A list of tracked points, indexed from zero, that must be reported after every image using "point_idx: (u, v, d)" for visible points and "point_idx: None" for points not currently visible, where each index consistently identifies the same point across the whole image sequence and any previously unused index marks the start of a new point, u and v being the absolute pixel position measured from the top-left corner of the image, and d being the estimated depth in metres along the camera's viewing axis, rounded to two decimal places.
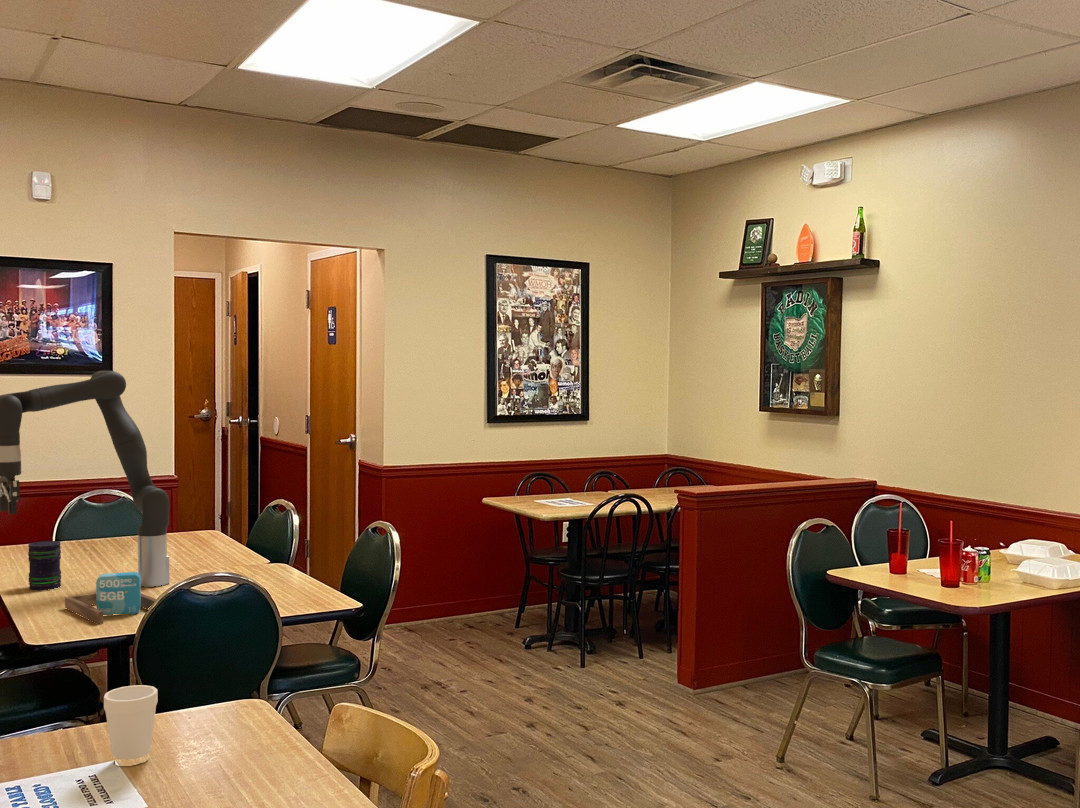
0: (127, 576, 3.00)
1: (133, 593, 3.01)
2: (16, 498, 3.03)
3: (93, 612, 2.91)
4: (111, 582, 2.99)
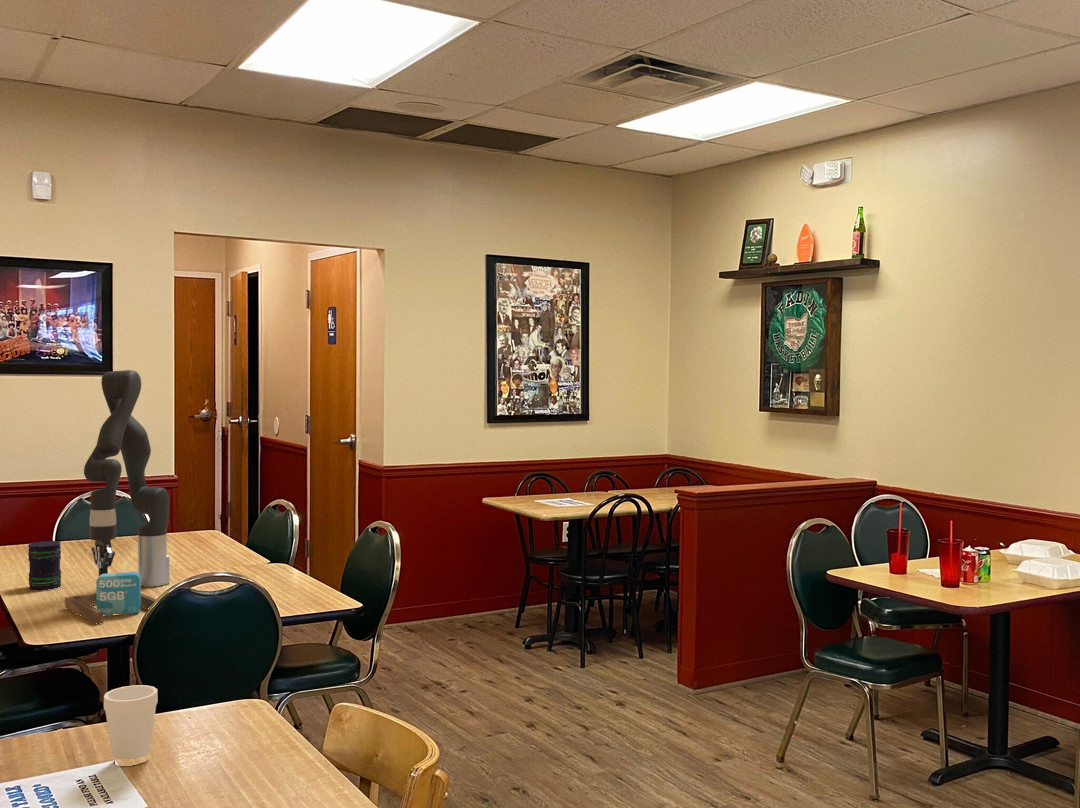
0: (127, 576, 3.00)
1: (133, 593, 3.01)
2: (107, 564, 3.07)
3: (93, 612, 2.91)
4: (111, 582, 2.99)
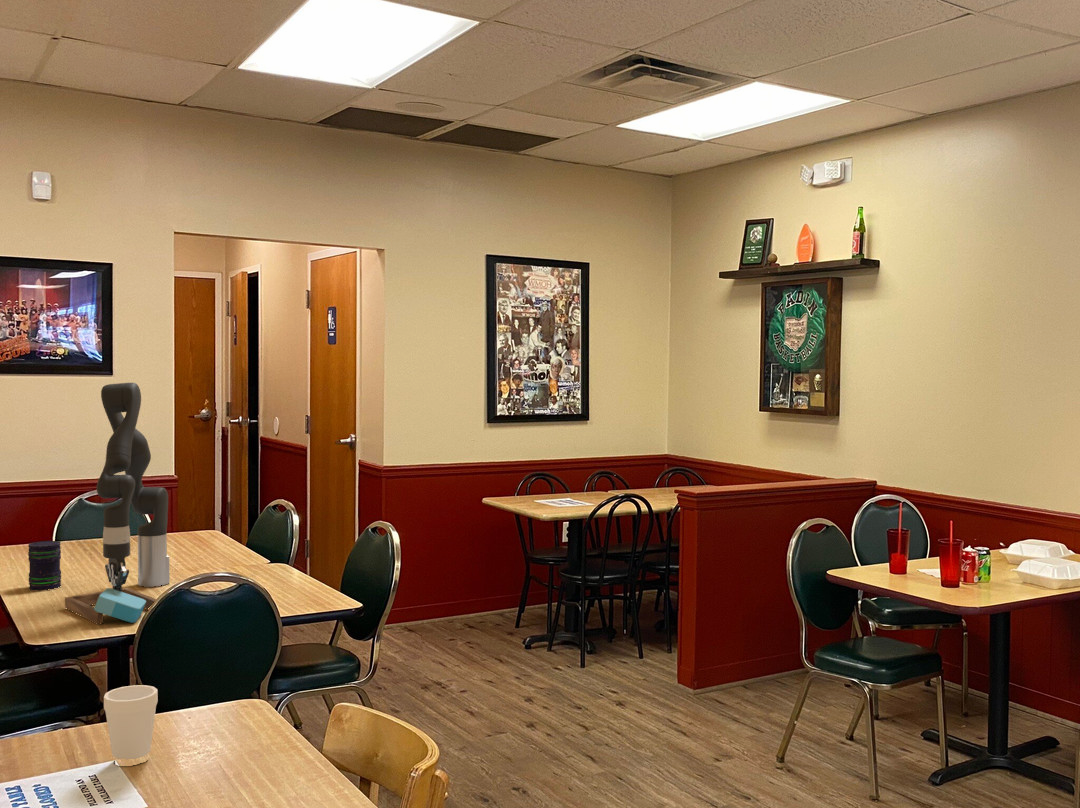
0: (122, 619, 2.90)
1: None
2: (122, 583, 3.00)
3: (93, 612, 2.91)
4: None
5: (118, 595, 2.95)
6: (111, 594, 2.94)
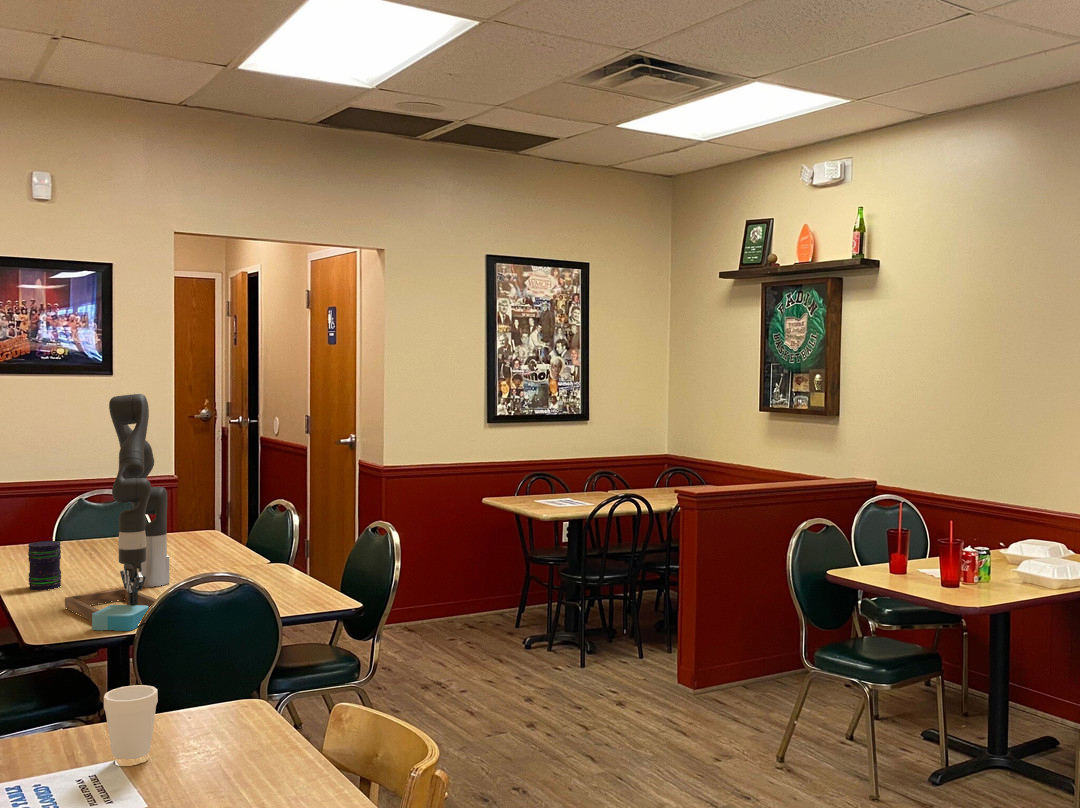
0: (120, 630, 2.83)
1: None
2: (138, 589, 2.92)
3: (93, 612, 2.91)
4: None
5: (116, 608, 2.89)
6: (108, 609, 2.88)
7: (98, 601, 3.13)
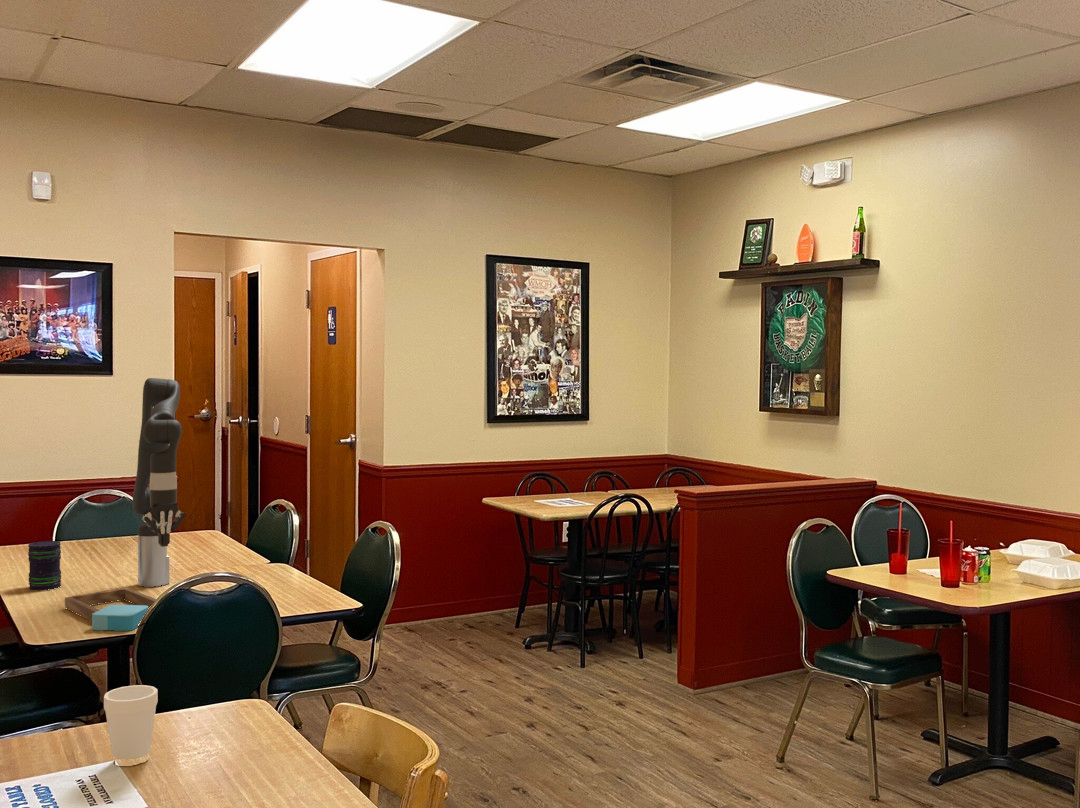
0: (120, 630, 2.83)
1: None
2: (153, 530, 2.93)
3: (93, 612, 2.91)
4: None
5: (116, 608, 2.89)
6: (108, 609, 2.88)
7: (98, 601, 3.13)
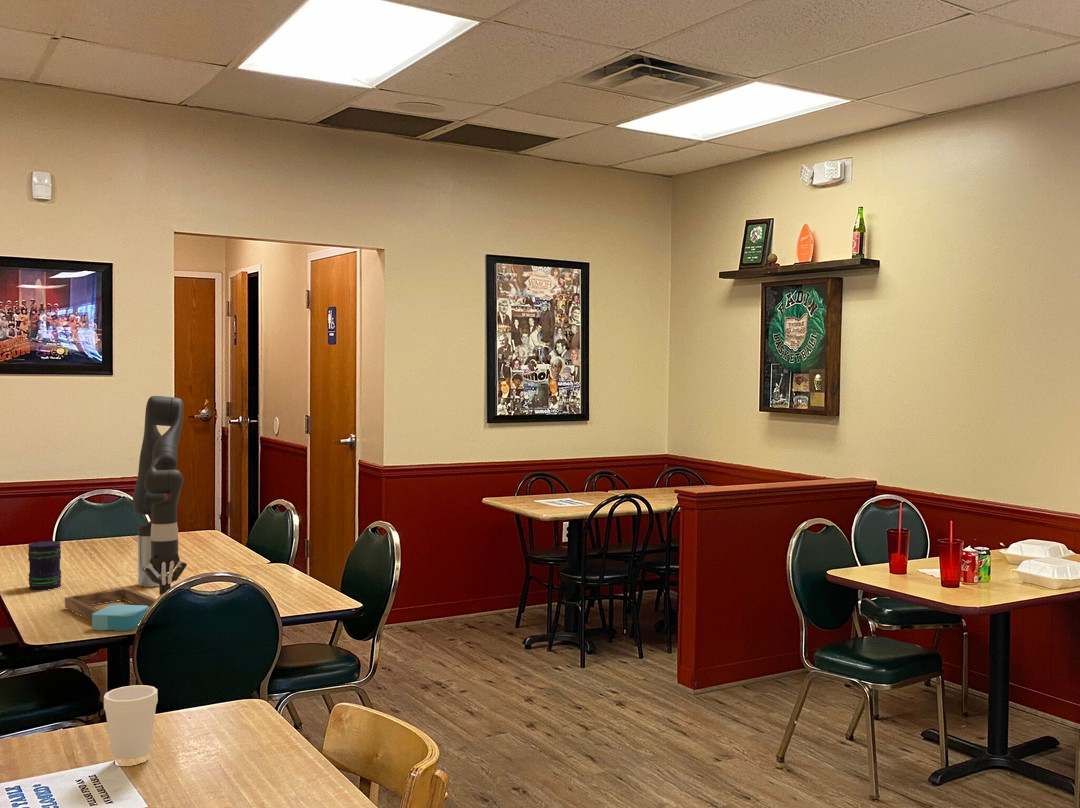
0: (120, 630, 2.83)
1: None
2: (154, 581, 2.91)
3: (93, 612, 2.91)
4: None
5: (116, 608, 2.89)
6: (108, 609, 2.88)
7: (98, 601, 3.13)
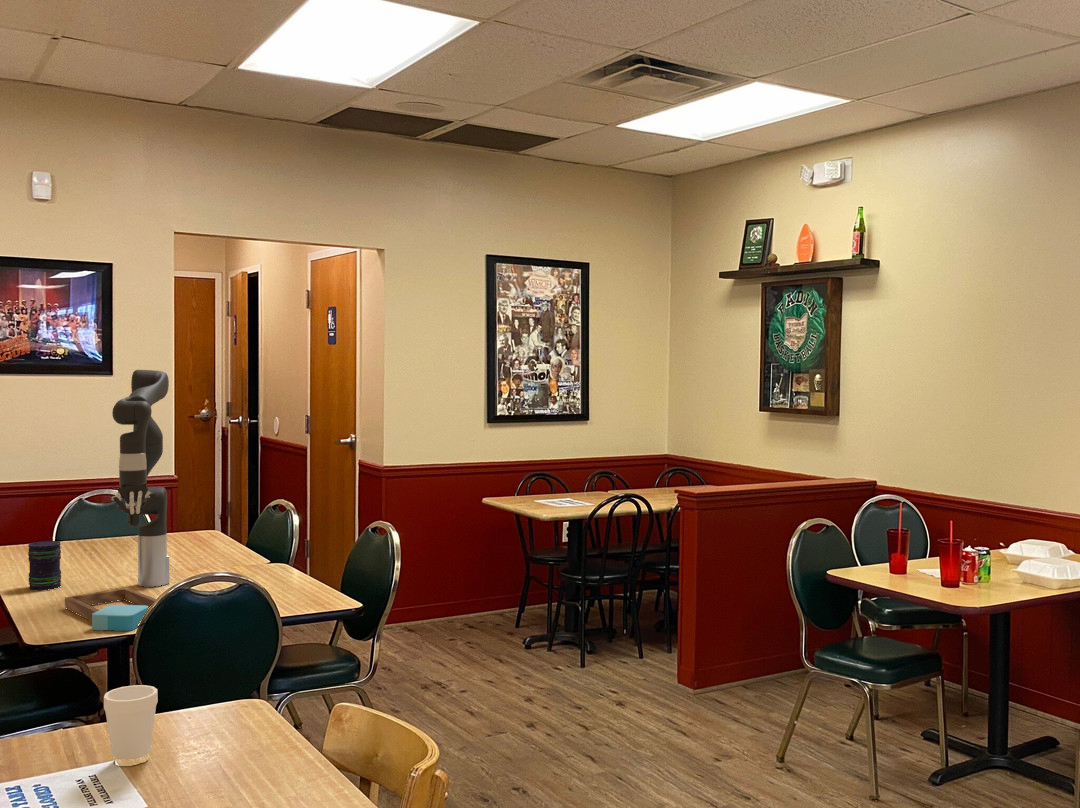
0: (120, 630, 2.83)
1: None
2: (123, 510, 2.95)
3: (93, 612, 2.91)
4: None
5: (116, 608, 2.89)
6: (108, 609, 2.88)
7: (98, 601, 3.13)
